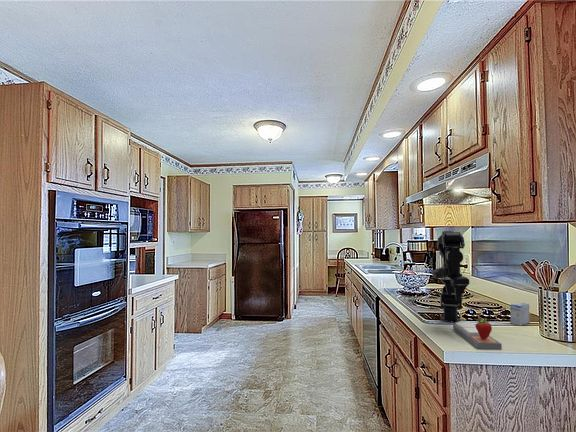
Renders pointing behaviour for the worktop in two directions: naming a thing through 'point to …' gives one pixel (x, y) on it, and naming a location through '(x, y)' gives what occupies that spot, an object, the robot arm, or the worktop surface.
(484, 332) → the fruit
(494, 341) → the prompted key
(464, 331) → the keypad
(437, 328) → the worktop surface
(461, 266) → the robot arm
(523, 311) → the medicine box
